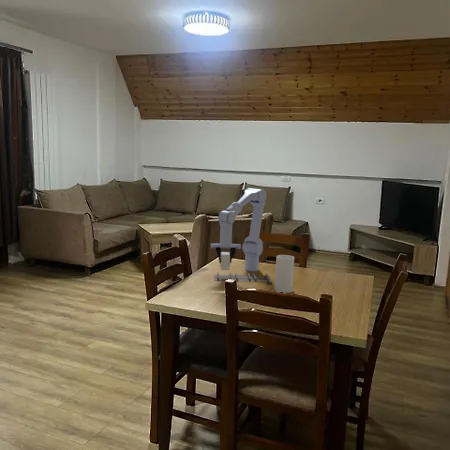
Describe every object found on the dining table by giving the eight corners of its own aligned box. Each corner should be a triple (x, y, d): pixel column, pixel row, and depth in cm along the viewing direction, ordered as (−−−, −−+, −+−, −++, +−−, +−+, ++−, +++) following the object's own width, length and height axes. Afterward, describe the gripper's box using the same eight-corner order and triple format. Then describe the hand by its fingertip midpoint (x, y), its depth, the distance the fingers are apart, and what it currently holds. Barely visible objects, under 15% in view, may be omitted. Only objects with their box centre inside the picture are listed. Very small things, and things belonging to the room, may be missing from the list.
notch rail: (214, 276, 230) (214, 271, 230) (269, 277, 231) (269, 273, 231) (214, 282, 219) (214, 277, 219) (272, 284, 220) (272, 279, 220)
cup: (291, 293, 207) (293, 259, 204) (273, 292, 208) (275, 258, 206) (292, 288, 215) (294, 255, 212) (275, 287, 216) (277, 254, 214)
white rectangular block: (220, 265, 228) (220, 252, 226) (229, 265, 228) (229, 252, 227) (220, 269, 220) (221, 255, 219) (229, 270, 220) (230, 256, 219)
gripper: (211, 236, 217) (210, 264, 219) (241, 237, 217) (240, 265, 220) (211, 233, 224) (210, 260, 226) (240, 234, 224) (239, 261, 227)
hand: (225, 262), depth 223 cm, fingers closed on white rectangular block, 4 cm apart
